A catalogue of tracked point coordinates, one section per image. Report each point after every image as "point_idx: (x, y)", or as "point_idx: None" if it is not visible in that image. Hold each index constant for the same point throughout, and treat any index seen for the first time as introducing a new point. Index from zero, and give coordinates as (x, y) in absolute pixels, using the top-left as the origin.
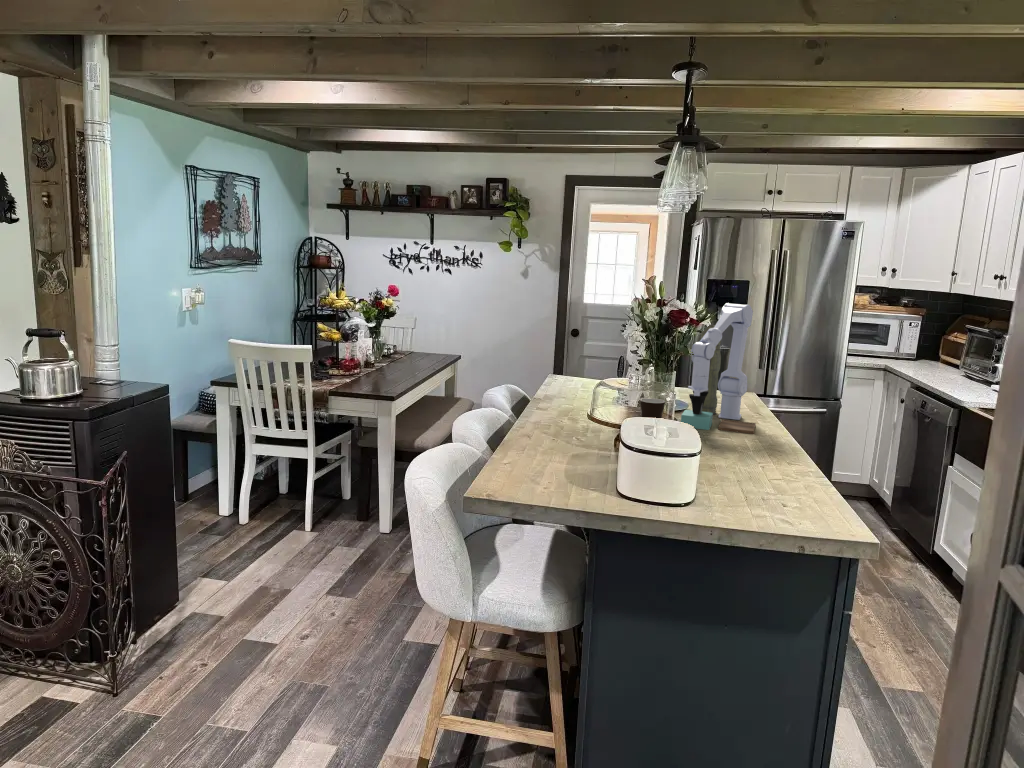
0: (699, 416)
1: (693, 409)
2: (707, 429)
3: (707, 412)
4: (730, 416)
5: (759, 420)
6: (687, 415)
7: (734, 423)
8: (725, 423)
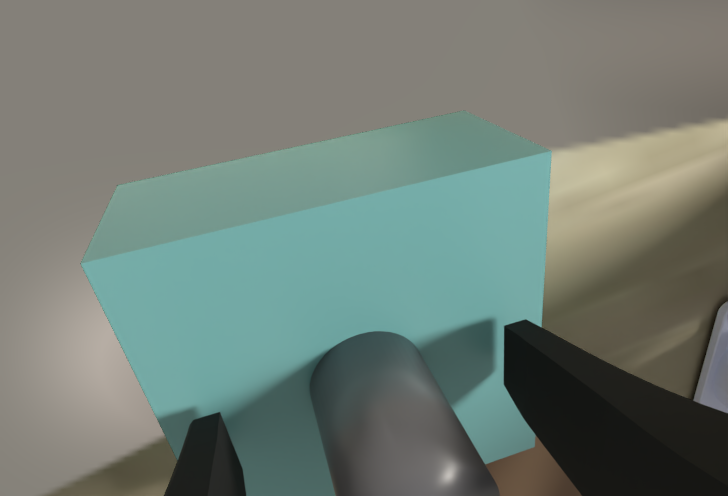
0: None
1: (178, 488)
2: None
3: (516, 412)
4: (723, 386)
5: None
6: (125, 349)
7: (510, 492)
8: None
